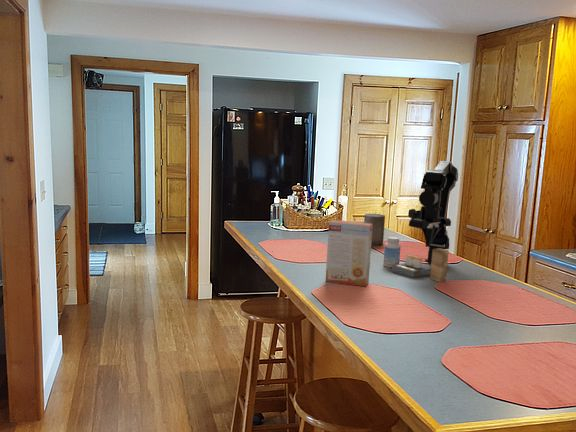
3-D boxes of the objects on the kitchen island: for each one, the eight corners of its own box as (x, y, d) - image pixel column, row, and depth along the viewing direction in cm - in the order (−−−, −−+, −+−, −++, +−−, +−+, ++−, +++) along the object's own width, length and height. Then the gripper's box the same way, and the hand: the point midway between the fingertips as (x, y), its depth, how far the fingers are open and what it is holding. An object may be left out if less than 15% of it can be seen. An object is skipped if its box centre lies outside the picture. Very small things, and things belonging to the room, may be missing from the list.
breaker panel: (412, 268, 205) (413, 261, 204) (433, 274, 197) (434, 267, 196) (391, 271, 197) (392, 264, 197) (413, 278, 189) (413, 271, 189)
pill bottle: (399, 268, 203) (401, 239, 201) (383, 266, 204) (385, 238, 203) (398, 264, 209) (401, 237, 207) (383, 263, 210) (385, 235, 208)
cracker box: (368, 283, 180) (373, 223, 177) (365, 287, 174) (370, 225, 171) (329, 277, 184) (333, 218, 181) (324, 281, 179) (328, 221, 176)
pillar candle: (386, 243, 252) (388, 212, 250) (378, 246, 244) (380, 214, 241) (367, 240, 257) (369, 210, 255) (359, 243, 249) (361, 212, 247)
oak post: (436, 277, 192) (439, 248, 191) (445, 280, 189) (448, 250, 188) (429, 278, 190) (432, 249, 188) (438, 281, 187) (442, 251, 185)
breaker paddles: (408, 263, 200) (409, 254, 199) (422, 267, 195) (423, 258, 194) (404, 264, 199) (405, 255, 198) (418, 268, 193) (419, 258, 193)
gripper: (429, 200, 210) (426, 239, 212) (399, 202, 198) (395, 242, 201) (453, 204, 201) (449, 244, 204) (423, 206, 190) (419, 248, 192)
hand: (428, 244), depth 200 cm, fingers closed
